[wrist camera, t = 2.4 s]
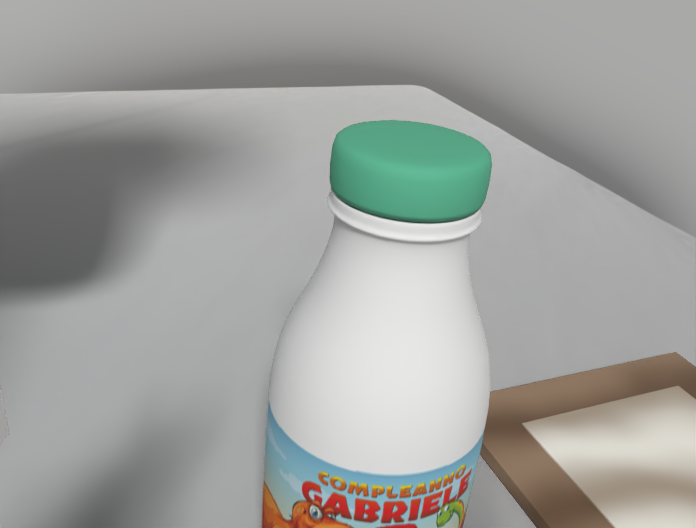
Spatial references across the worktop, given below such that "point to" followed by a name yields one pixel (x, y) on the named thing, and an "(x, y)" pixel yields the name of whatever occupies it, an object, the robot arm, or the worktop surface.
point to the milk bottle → (384, 342)
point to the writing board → (600, 446)
